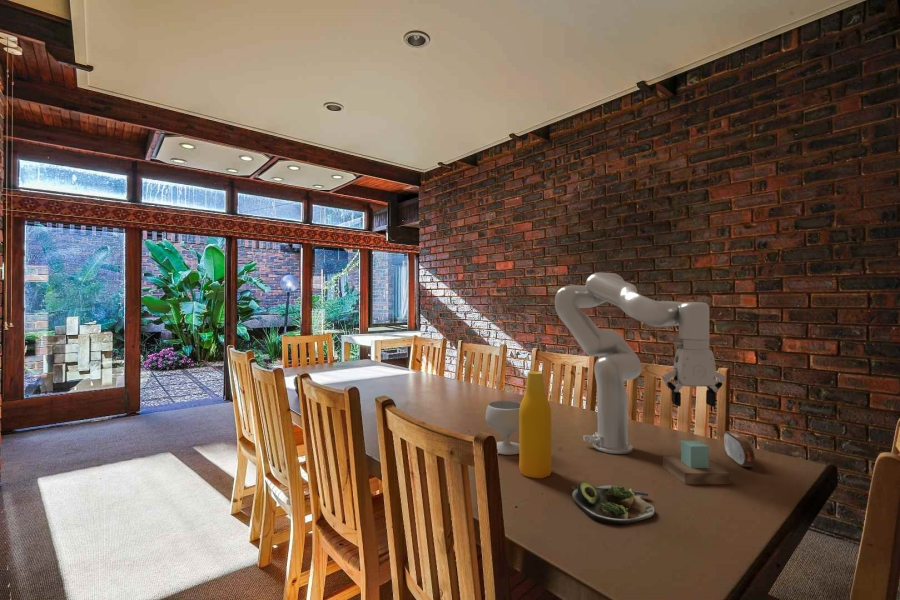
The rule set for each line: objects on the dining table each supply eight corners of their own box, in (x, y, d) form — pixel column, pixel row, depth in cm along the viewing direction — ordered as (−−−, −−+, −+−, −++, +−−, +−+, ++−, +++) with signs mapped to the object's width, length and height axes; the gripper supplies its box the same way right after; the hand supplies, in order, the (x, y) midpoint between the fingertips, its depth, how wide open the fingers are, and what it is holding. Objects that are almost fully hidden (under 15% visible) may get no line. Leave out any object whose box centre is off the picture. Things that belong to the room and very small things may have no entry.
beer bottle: (516, 476, 119) (516, 374, 119) (522, 464, 128) (521, 369, 128) (549, 481, 116) (549, 376, 116) (553, 468, 125) (552, 370, 125)
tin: (756, 471, 122) (755, 442, 122) (743, 471, 122) (743, 442, 122) (732, 453, 136) (732, 427, 136) (721, 452, 137) (721, 427, 137)
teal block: (690, 467, 117) (690, 446, 117) (680, 461, 122) (680, 440, 122) (708, 467, 117) (708, 446, 117) (698, 461, 122) (698, 440, 122)
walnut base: (685, 484, 114) (685, 473, 114) (662, 466, 126) (662, 456, 126) (729, 484, 114) (729, 473, 114) (703, 466, 125) (703, 456, 126)
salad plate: (627, 486, 113) (627, 469, 113) (676, 520, 96) (676, 499, 96) (561, 494, 109) (561, 476, 109) (600, 530, 92) (600, 509, 92)
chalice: (536, 451, 139) (536, 405, 139) (504, 460, 131) (504, 412, 131) (507, 439, 151) (507, 397, 151) (477, 447, 143) (476, 403, 143)
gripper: (670, 346, 116) (670, 408, 116) (733, 346, 116) (732, 408, 116) (657, 343, 123) (656, 401, 124) (715, 343, 123) (715, 402, 123)
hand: (693, 405), depth 120 cm, fingers open, 9 cm apart
